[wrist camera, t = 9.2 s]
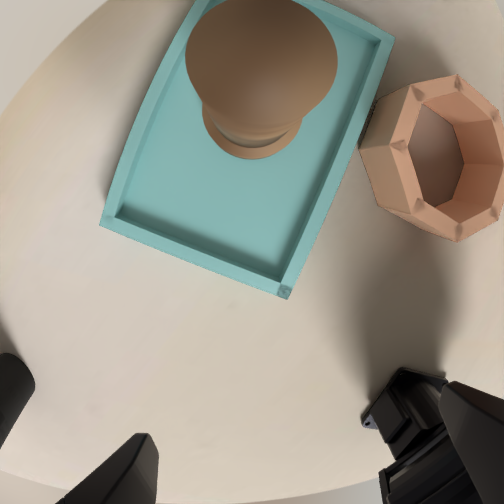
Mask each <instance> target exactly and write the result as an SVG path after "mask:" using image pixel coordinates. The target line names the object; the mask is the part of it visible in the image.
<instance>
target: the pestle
mask: <svg viewBox="0 0 504 504" xmlns="http://www.w3.org/2000/svg"><path fill="white" fill-rule="evenodd" d="M185 64H186V70H187V73H188V76H189V79H190V81H191V83H192V85H193V87H194V89H195V91H196V92H197V94H198V96H199V98H200V99H201V101H202V117H203V122H204V125H205V128H206V130H207V132H208V134H209V135H210V137H211V138H212V139H213V140H214V142H215V143H216V144H217V145H218V146H219V147H220V148H221V149H222V150H224V151H225V152H227V153H228V154H230V155H232V156H235V157H238V158H241V159H249V160H255V159H262V158H266V157H269V156H271V155H273V154H275V153H277V152H278V151H280V150H282V149H283V148H285V147H286V146H287V145H288V144H289V143H290V142H291V141H292V140H293V139H294V137H295V136H296V135H297V133H298V131H299V129H300V126H301V123H302V119H303V117H304V116H306V115H307V114H308V113H309V112H310V111H311V110H312V109H313V108H314V107H316V106H317V105H318V104H319V103H320V102H321V101H322V100H323V99H324V98H325V96H326V95H327V93H328V92H329V91H330V89H331V87H332V85H333V83H334V80H335V77H336V73H337V67H338V56H337V49H336V46H335V42H334V40H333V38H332V35H331V33H330V32H329V30H328V29H327V27H326V26H325V24H324V23H323V22H322V21H321V20H320V19H319V18H318V17H317V16H316V15H315V14H314V13H313V12H312V11H310V10H309V9H307V8H306V7H304V6H303V5H301V4H299V3H297V2H295V1H292V0H226V1H224V2H222V3H220V4H218V5H216V6H215V7H213V8H212V9H210V10H209V11H208V12H207V13H206V14H204V15H203V16H202V17H201V19H200V20H199V21H198V22H197V23H196V25H195V26H194V28H193V29H192V31H191V34H190V36H189V38H188V41H187V45H186V51H185Z"/></svg>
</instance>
